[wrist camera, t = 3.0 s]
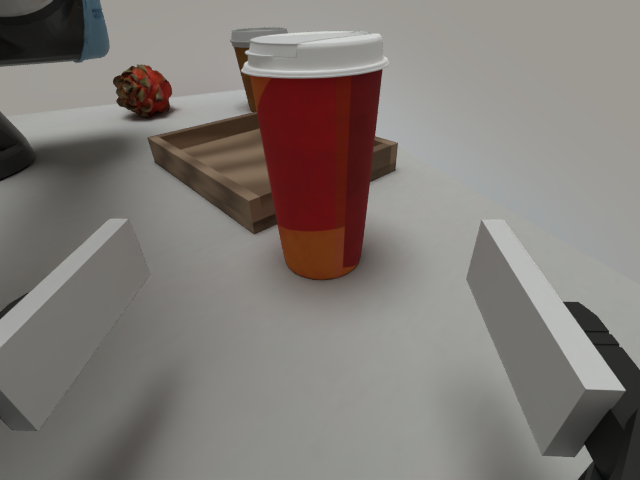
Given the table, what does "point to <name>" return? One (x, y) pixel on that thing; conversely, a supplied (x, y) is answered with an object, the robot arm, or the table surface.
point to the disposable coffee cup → (241, 46)
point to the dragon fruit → (143, 90)
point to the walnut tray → (236, 166)
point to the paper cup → (318, 140)
